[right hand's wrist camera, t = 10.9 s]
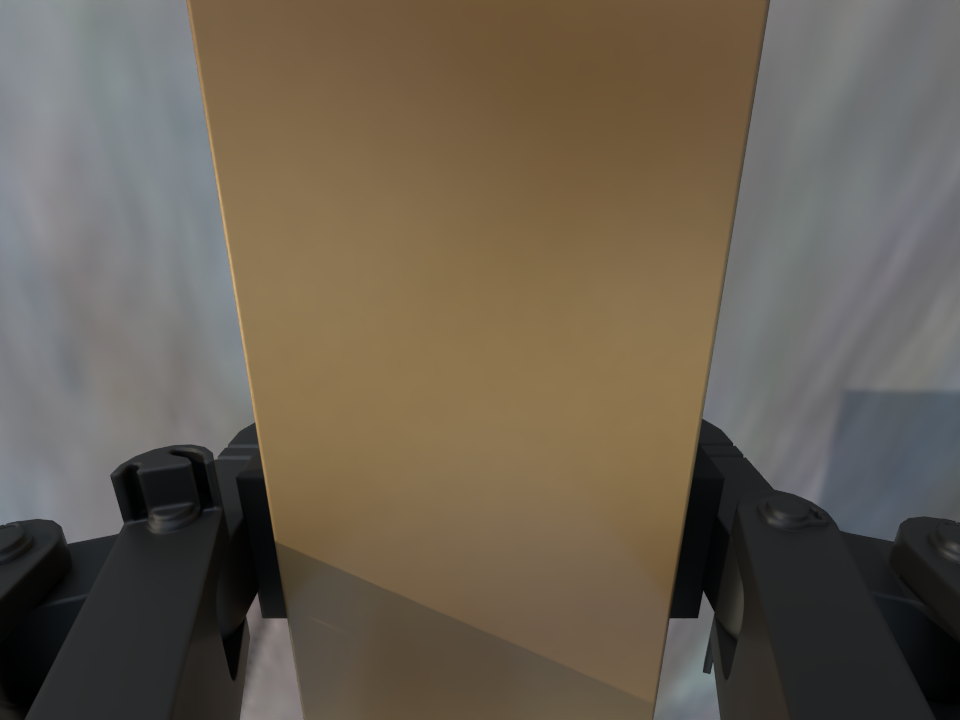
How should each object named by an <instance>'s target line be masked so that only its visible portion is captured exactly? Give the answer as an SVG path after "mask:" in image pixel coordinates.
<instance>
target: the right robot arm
mask: <svg viewBox="0 0 960 720" xmlns="http://www.w3.org/2000/svg"><path fill="white" fill-rule="evenodd" d="M110 476H111V480H112V483H113V487H114V490H115V493H116V497H117V500H118V504H119V507H120V511H121V514H122V518H123V521H124V525H123V527H122V529H121V531H120V533H119V534H116V535H112V536H106V537H101V538H96V539H91V540H86V541H81V542H76V543H71V544H67V542H66V539H65V536H64V533H63V530H62V527H61V526H60V525H58V524H57V523H55V522H54V521H52V520H42V519H34V520H26V521H16V522H12V523H8V524H6V525H1V526H0V720H240V712H241V704H242V697H243V689H244V681H245V673H246V665H247V657H248V649H249V641H250V634H249V627H248V622H247V618H246V614H247V612H248V610H249V608H250V606H251V604H252V602H253V600H254V598H255V596H256V594H257V592H258V597H259V602H260V607H261V612H262V618H287V613H286V607H285V601H284V595H283V588H282V582H281V576H280V570H279V564H278V558H277V552H276V546H275V540H274V533H273V527H272V521H271V515H270V509H269V503H268V497H267V491H266V484H265V478H264V472H263V466H262V460H261V454H260V448H259V442H258V436H257V429H256V423H253V424H252V425H250V426H248V427H247V428H245V429H243V430H241V431H240V432H239V433H238V434H237V435H236V436H235V438H234V439H233V440H232V441H231V442H230V443H229V444H228V448H225V449H224V450H223V451H222V452H221V453H220V455H219V456H218V460H214V458H213V453H212V452H211V451H209V450H208V449H207V448H205V447H201V446H196V445H173V446H168V447H163V448H159V449H154V450H151V451H149V452H146V453H143V454H140V455H138V456H135V457H134V458H132V459H130V460H128V461H127V462H125V463H123V464H121V465H120V466H119V467H118V468H117V469H116V470H115V471H114V472H113V473H112V474H111V475H110ZM703 591H704V593H705V594H706V596H707V598H708V600H709V602H710V604H711V606H712V608H713V610H714V612H715V613H714V617H713V622H712V627H711V632H710V637H709V642H708V647H707V651H706V656H705V661H704V668H703V672H704V673H708V674H710V673H711V668H712V664H714V671H715V679H716V687H717V695H718V703H719V711H720V719H721V720H960V523H959V522H958V523H956V522H955V521H952V520H947V519H938V518H931V517H916V518H908V519H907V520H905V521H904V522H903V523H901V524H900V526H899V529H898V532H897V535H896V538H895V541H894V542H892V541H887V540H882V539H877V538H871V537H866V536H861V535H856V534H851V533H847V532H843V531H840V530H839V528H838V526H837V524H836V523H835V522H834V520H833V519H832V518H831V517H830V515H829V514H828V513H827V512H826V511H824V510H823V509H821V508H820V507H818V506H817V505H816V504H814V503H813V502H811V501H808V500H806V499H804V498H801V497H799V496H797V495H794V494H790V493H786V492H782V491H778V490H774V489H773V488H772V487H771V486H770V484H769V483H768V482H767V481H766V480H765V479H764V478H763V477H762V475H761V474H760V473H759V472H758V471H757V470H756V469H755V467H754V466H753V465H752V464H751V463H750V462H749V461H748V460H747V458H743V454H742V453H741V452H740V450H739V449H738V448H737V447H736V446H733V443H732V441H731V440H730V439H729V438H728V437H727V436H726V435H725V433H724V432H723V431H722V430H721V429H719V428H717V427H716V426H714V425H712V424H711V423H709V422H707V421H705V420H704V419H702V422H701V428H700V434H699V440H698V447H697V453H696V459H695V465H694V471H693V477H692V484H691V490H690V496H689V502H688V508H687V514H686V520H685V527H684V533H683V539H682V545H681V551H680V557H679V564H678V570H677V576H676V582H675V588H674V594H673V600H672V607H671V613H670V618H698V615H699V610H700V604H701V599H702V594H703Z"/></svg>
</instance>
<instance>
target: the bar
mask: <svg viewBox="0 0 960 720" xmlns="http://www.w3.org/2000/svg"><path fill="white" fill-rule="evenodd" d="M186 1H187V7H188V13H189V20H190V26H191V32H192V38H193V44H194V50H195V56H196V62H197V69H198V75H199V81H200V87H201V93H202V99H203V105H204V111H205V117H206V124H207V130H208V136H209V142H210V148H211V154H212V160H213V166H214V172H215V179H216V185H217V191H218V197H219V203H220V209H221V215H222V221H223V228H224V234H225V240H226V246H227V252H228V258H229V264H230V270H231V276H232V283H233V289H234V295H235V301H236V307H237V313H238V319H239V325H240V332H241V338H242V344H243V350H244V356H245V362H246V368H247V374H248V380H249V387H250V393H251V399H252V405H253V411H254V417H255V423H256V429H257V436H258V442H259V448H260V454H261V460H262V466H263V472H264V478H265V484H266V491H267V497H268V503H269V509H270V515H271V521H272V527H273V533H274V540H275V546H276V552H277V558H278V564H279V570H280V576H281V582H282V588H283V595H284V601H285V607H286V613H287V619H288V625H289V631H290V637H291V644H292V650H293V656H294V662H295V668H296V674H297V680H298V686H299V692H300V699H301V705H302V711H303V717H304V720H653V717H654V711H655V705H656V699H657V693H658V687H659V680H660V674H661V668H662V662H663V656H664V650H665V644H666V637H667V631H668V625H669V619H670V613H671V607H672V600H673V594H674V588H675V582H676V576H677V570H678V564H679V557H680V551H681V545H682V539H683V533H684V527H685V520H686V514H687V508H688V502H689V496H690V490H691V484H692V477H693V471H694V465H695V459H696V453H697V447H698V440H699V434H700V428H701V422H702V416H703V410H704V404H705V397H706V391H707V385H708V379H709V373H710V367H711V360H712V354H713V348H714V342H715V336H716V330H717V324H718V317H719V311H720V305H721V299H722V293H723V287H724V281H725V274H726V268H727V262H728V256H729V250H730V244H731V237H732V231H733V225H734V219H735V213H736V207H737V201H738V194H739V188H740V182H741V176H742V170H743V164H744V157H745V151H746V145H747V139H748V133H749V127H750V121H751V114H752V108H753V102H754V96H755V90H756V84H757V77H758V71H759V65H760V59H761V53H762V47H763V41H764V34H765V28H766V22H767V16H768V10H769V4H770V0H186Z"/></svg>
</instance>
